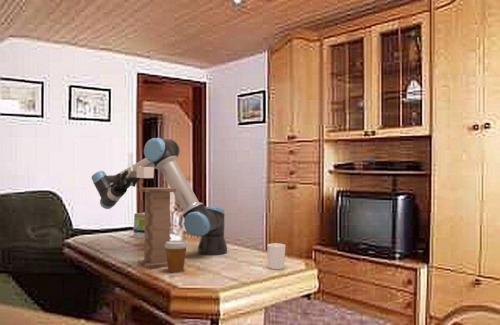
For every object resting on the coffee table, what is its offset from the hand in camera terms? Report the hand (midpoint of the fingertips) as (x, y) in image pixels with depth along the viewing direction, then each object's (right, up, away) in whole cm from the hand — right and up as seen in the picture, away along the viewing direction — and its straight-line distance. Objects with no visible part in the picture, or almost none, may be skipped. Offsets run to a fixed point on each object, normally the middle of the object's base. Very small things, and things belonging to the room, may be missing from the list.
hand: (136, 168), depth 218 cm
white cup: (+66, -43, -18) cm, 81 cm away
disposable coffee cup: (+23, -43, -26) cm, 55 cm away
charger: (+2, -4, -2) cm, 5 cm away
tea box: (-8, -43, +62) cm, 75 cm away
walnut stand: (+13, -43, -15) cm, 47 cm away
